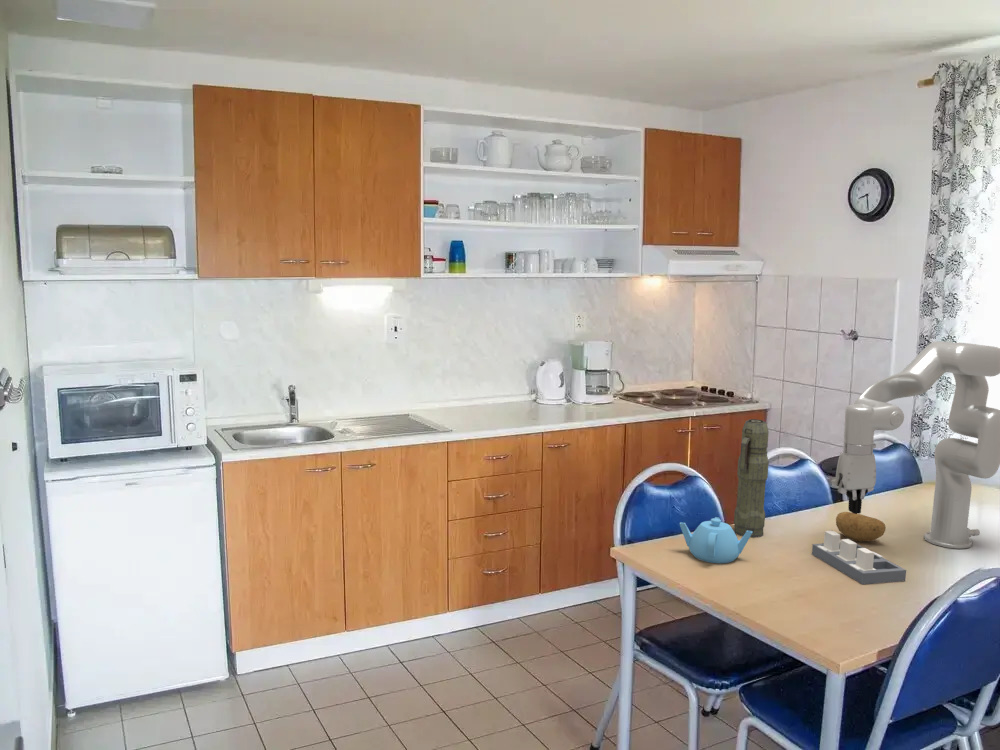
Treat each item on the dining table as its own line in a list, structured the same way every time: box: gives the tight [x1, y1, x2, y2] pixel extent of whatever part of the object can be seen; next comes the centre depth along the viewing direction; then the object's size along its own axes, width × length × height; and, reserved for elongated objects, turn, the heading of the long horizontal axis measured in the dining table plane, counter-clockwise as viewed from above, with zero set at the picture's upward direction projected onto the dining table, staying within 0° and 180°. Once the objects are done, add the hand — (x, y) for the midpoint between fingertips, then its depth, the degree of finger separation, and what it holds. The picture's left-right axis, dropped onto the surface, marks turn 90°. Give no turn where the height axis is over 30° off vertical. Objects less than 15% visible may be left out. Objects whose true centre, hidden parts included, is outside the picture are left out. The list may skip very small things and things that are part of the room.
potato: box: [835, 511, 886, 543], centre depth 245 cm, size 10×14×8 cm
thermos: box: [733, 418, 770, 538], centre depth 247 cm, size 9×12×35 cm
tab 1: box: [822, 530, 841, 552], centre depth 229 cm, size 4×4×6 cm
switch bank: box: [811, 542, 907, 585], centre depth 223 cm, size 13×22×3 cm, turn 13°
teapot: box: [679, 516, 753, 564], centre depth 229 cm, size 15×15×11 cm
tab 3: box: [853, 547, 876, 571], centre depth 215 cm, size 4×4×6 cm
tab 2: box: [836, 538, 858, 561], centre depth 222 cm, size 4×4×6 cm
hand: (854, 512), depth 229 cm, fingers closed
